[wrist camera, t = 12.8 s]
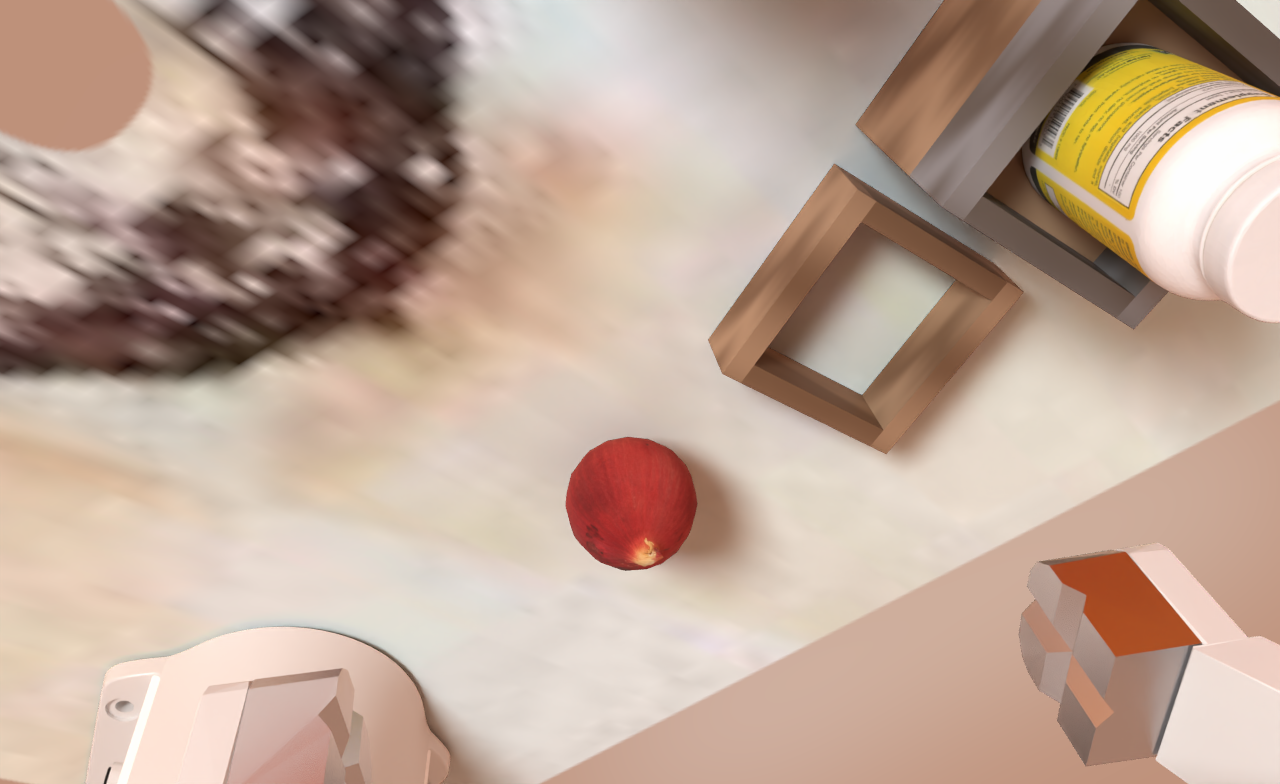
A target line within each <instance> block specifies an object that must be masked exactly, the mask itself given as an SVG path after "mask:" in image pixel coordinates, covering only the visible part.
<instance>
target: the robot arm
mask: <svg viewBox="0 0 1280 784" xmlns="http://www.w3.org/2000/svg"><path fill="white" fill-rule="evenodd" d="M1027 587H1028V589H1029V590H1030V591H1031V593H1032V594H1033V596H1034V598H1035V600H1034V601H1033V602H1032V603H1031V604H1030V605H1029V606H1028V608H1027V609H1026V610H1025V611H1024V612H1023V613H1022V616H1021V623H1020V629H1019V638H1020V646H1021V652H1022V657H1023V660H1024V662H1025V665H1026V668H1027V670H1028V673H1029V674H1030V676H1031V678H1032V680H1033V681H1034V683H1035V684H1036V686H1037V688H1038V690H1039V691H1041V692H1043V693H1044V694H1046V695H1047V696H1049V697H1051V698H1053V699H1054V700H1056V701H1058V702H1059V703H1060V708H1059V714H1058V719H1057V721H1058V722H1059V724H1060V725H1061V727H1062V729H1063V730H1064V732H1065V734H1066V735H1067V737H1068V738H1069V740H1070V741H1071V743H1072V745H1073V747H1074V748H1075V750H1076V751H1077V753H1078V754H1079V756H1080V758H1081V759H1082V761H1083V763H1084V764H1085V766H1092V765H1099V764H1106V763H1113V762H1120V761H1127V760H1134V759H1141V758H1148V757H1156V756H1157V757H1156V761H1158V762H1159V763H1161V764H1162V765H1163V766H1165V767H1166V768H1167V769H1169V770H1170V771H1172V772H1173V773H1174V774H1176V775H1177V776H1178V777H1180V778H1181V779H1183V780H1184V781H1186V782H1187V783H1188V784H1280V645H1279V644H1276V643H1274V642H1272V641H1270V640H1268V639H1266V638H1264V637H1262V636H1257V637H1249V638H1248V636H1247V635H1246V634H1245V633H1244V632H1243V631H1242V630H1241V629H1240V628H1239V626H1238V625H1237V624H1236V623H1235V622H1234V621H1233V620H1232V619H1231V618H1230V616H1229V615H1228V614H1227V613H1226V612H1225V611H1224V610H1223V609H1222V608H1221V606H1219V604H1218V603H1217V602H1216V601H1215V600H1214V599H1213V598H1212V596H1211V595H1210V594H1209V593H1208V592H1207V591H1206V590H1205V589H1204V587H1203V586H1202V585H1201V584H1200V583H1199V582H1198V581H1197V580H1196V579H1195V577H1194V576H1193V575H1192V574H1191V573H1190V572H1189V571H1188V570H1187V569H1186V567H1185V566H1184V565H1183V564H1182V563H1181V562H1180V561H1179V560H1178V559H1177V557H1176V556H1175V555H1174V554H1173V553H1172V552H1171V551H1170V550H1169V549H1168V548H1167V547H1165V546H1163V545H1161V544H1159V543H1150V544H1144V545H1139V546H1132V547H1126V548H1120V549H1116V550H1107V551H1101V552H1095V553H1088V554H1082V555H1076V556H1070V557H1064V558H1058V559H1052V560H1046V561H1039V562H1037V563H1036V564H1035V565H1034V567H1033V568H1032V569H1031V571H1030V575H1029V580H1028V584H1027ZM450 758H451V757H450V754H449V752H448V750H447V748H446V747H445V746H444V745H443V743H442V742H441V741H440V740H439V739H438V738H437V737H436V736H435V735H434V734H433V733H432V732H431V731H430V729H429V727H428V725H427V721H426V717H425V712H424V707H423V703H422V699H421V697H420V694H419V692H418V690H417V688H416V686H415V685H414V683H413V682H412V680H411V679H410V677H409V676H408V675H407V674H406V673H405V672H404V671H403V670H402V669H401V668H400V667H399V666H398V665H397V664H396V663H395V662H394V661H392V660H391V659H390V658H388V657H387V656H386V655H384V654H382V653H381V652H379V651H378V650H376V649H374V648H372V647H370V646H368V645H366V644H364V643H362V642H359V641H357V640H354V639H352V638H349V637H346V636H342V635H339V634H335V633H331V632H327V631H322V630H316V629H309V628H299V627H265V628H255V629H248V630H243V631H238V632H233V633H229V634H225V635H222V636H219V637H216V638H213V639H210V640H208V641H205V642H203V643H201V644H199V645H196V646H194V647H192V648H190V649H188V650H185V651H183V652H180V653H178V654H175V655H171V656H168V657H158V658H148V659H140V660H133V661H128V662H123V663H120V664H117V665H115V666H113V667H111V668H110V669H109V670H108V671H107V673H106V675H105V678H104V682H103V687H102V691H101V696H100V702H99V708H98V713H97V719H96V725H95V731H94V736H93V742H92V748H91V754H90V759H89V765H88V771H87V777H86V782H85V784H440V783H441V782H442V781H444V779H445V778H446V777H447V775H448V773H449V766H450Z"/></svg>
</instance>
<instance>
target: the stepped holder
mask: <svg viewBox="0 0 1280 784" xmlns="http://www.w3.org/2000/svg"><path fill="white" fill-rule="evenodd" d="M1116 43H1141V44H1146V45H1150V46H1153V47H1156V48H1159V49H1162V50H1165V51H1167V52H1170V53H1173V54H1175V55H1177V56H1179V57H1182V58H1184V59H1187V60H1189V61H1192V62H1194V63H1197V64H1199V65H1202V66H1204V67H1207V68H1209V69H1212V70H1214V71H1217V72H1219V73H1222V74H1224V75H1227V76H1229V77H1232V78H1234V79H1237V80H1239V81H1241V82H1244V83H1246V84H1248V85H1251V86H1253V87H1256V88H1258V89H1261V90H1263V91H1266V92H1268V93H1271V94H1273V95H1276V96H1278V97H1280V39H1279V38H1278V37H1277V36H1276V35H1274V34H1273V33H1272V32H1271V31H1270V30H1269V29H1268V28H1266V27H1265V26H1264V25H1263V24H1262V23H1261V22H1260V21H1259V20H1257V19H1256V18H1255V17H1254V16H1253V15H1252V14H1251V13H1250V12H1248V11H1247V10H1246V9H1245V8H1244V7H1243V6H1242V5H1240V4H1239V3H1238V2H1237V1H1236V0H944V1H943V3H942V4H941V6H940V7H939V8H938V10H937V11H936V13H935V14H934V15H933V17H932V18H931V20H930V21H929V22H928V24H927V25H926V27H925V28H924V29H923V31H922V32H921V34H920V35H919V36H918V38H917V39H916V41H915V42H914V43H913V45H912V46H911V48H910V49H909V50H908V52H907V53H906V55H905V56H904V57H903V59H902V60H901V62H900V63H899V64H898V66H897V67H896V69H895V70H894V71H893V73H892V74H891V76H890V77H889V78H888V80H887V81H886V83H885V84H884V86H883V87H882V88H881V90H880V91H879V93H878V94H877V95H876V97H875V98H874V100H873V101H872V102H871V104H870V105H869V107H868V108H867V109H866V111H865V112H864V114H863V115H862V116H861V118H860V119H859V121H858V122H857V123H856V126H857V127H858V128H859V129H860V130H861V131H862V132H863V133H864V134H865V135H866V136H868V137H869V138H870V139H871V140H872V141H873V142H874V143H875V144H876V145H877V146H878V147H879V148H880V149H881V150H882V151H883V152H884V153H885V154H886V155H887V156H889V157H890V158H891V159H892V160H893V161H894V162H895V163H896V164H897V165H898V166H899V167H900V168H901V169H902V170H903V171H904V172H905V173H906V174H907V175H908V176H910V177H911V178H912V179H913V180H914V181H915V182H916V183H917V184H918V185H919V186H920V187H921V188H922V189H923V190H924V191H925V192H926V193H927V194H928V195H930V196H931V197H932V198H933V199H934V200H935V201H936V202H937V203H938V204H939V205H940V206H941V207H942V208H944V209H945V210H947V211H949V212H950V213H952V214H953V215H955V216H956V217H958V218H960V219H961V220H963V221H964V222H966V223H967V224H969V225H971V226H972V227H974V228H975V229H977V230H978V231H980V232H982V233H983V234H985V235H986V236H988V237H989V238H991V239H993V240H994V241H996V242H997V243H999V244H1000V245H1002V246H1004V247H1005V248H1007V249H1008V250H1010V251H1011V252H1013V253H1015V254H1016V255H1018V256H1019V257H1021V258H1022V259H1024V260H1026V261H1027V262H1029V263H1030V264H1032V265H1033V266H1035V267H1037V268H1038V269H1040V270H1041V271H1043V272H1044V273H1046V274H1048V275H1049V276H1051V277H1052V278H1054V279H1055V280H1057V281H1059V282H1060V283H1062V284H1063V285H1065V286H1066V287H1068V288H1070V289H1071V290H1073V291H1074V292H1076V293H1077V294H1079V295H1081V296H1082V297H1084V298H1085V299H1087V300H1088V301H1090V302H1092V303H1093V304H1095V305H1096V306H1098V307H1099V308H1101V309H1103V310H1104V311H1106V312H1107V313H1109V314H1110V315H1112V316H1114V317H1115V318H1117V319H1118V320H1120V321H1121V322H1123V323H1125V324H1126V325H1128V326H1129V327H1131V328H1132V329H1135V327H1136V326H1137V325H1138V324H1139V323H1140V322H1141V321H1142V320H1143V319H1144V318H1145V317H1146V315H1147V314H1148V313H1149V312H1150V311H1151V310H1152V309H1153V308H1154V307H1155V306H1156V305H1157V303H1158V302H1159V301H1160V300H1161V299H1162V298H1163V297H1164V296H1165V295H1166V294H1167V293H1168V292H1169V291H1167V290H1166V289H1164V288H1162V287H1160V286H1159V285H1157V284H1156V283H1154V282H1153V281H1151V280H1150V279H1149V278H1148V277H1146V276H1145V275H1144V274H1142V273H1141V272H1140V271H1138V270H1137V269H1136V268H1134V267H1133V266H1132V265H1131V264H1129V263H1128V262H1127V261H1125V260H1124V259H1123V258H1121V257H1120V256H1118V255H1117V254H1116V253H1115V252H1113V251H1112V250H1111V249H1109V248H1108V247H1107V246H1105V245H1104V244H1103V243H1101V242H1100V241H1098V240H1097V239H1096V238H1094V237H1093V236H1092V235H1091V234H1089V233H1088V232H1086V231H1085V230H1084V229H1083V228H1081V227H1080V226H1078V225H1077V224H1076V223H1075V222H1073V221H1072V220H1070V219H1069V218H1068V217H1066V216H1065V215H1064V214H1062V213H1061V212H1060V211H1058V210H1057V209H1056V208H1054V207H1053V206H1052V205H1050V204H1049V203H1048V202H1047V201H1046V200H1045V199H1043V198H1042V197H1041V196H1040V195H1039V194H1038V193H1037V191H1036V190H1035V189H1034V188H1033V186H1032V185H1031V183H1030V181H1029V179H1028V177H1027V174H1026V172H1025V168H1024V164H1023V157H1022V146H1023V144H1024V143H1025V142H1026V141H1027V139H1028V138H1029V137H1030V136H1031V134H1032V133H1033V132H1034V130H1035V129H1036V128H1037V127H1038V125H1039V124H1040V123H1041V122H1042V120H1043V119H1044V118H1045V117H1046V115H1047V114H1048V113H1049V112H1050V110H1051V109H1052V108H1053V107H1054V105H1055V104H1056V103H1057V102H1058V100H1059V99H1060V98H1061V96H1062V95H1063V94H1064V93H1065V91H1066V90H1067V89H1068V88H1069V86H1070V85H1071V84H1072V83H1073V81H1074V80H1075V79H1076V78H1077V76H1078V75H1079V74H1080V73H1081V71H1082V70H1083V69H1084V68H1085V66H1086V65H1087V64H1088V62H1089V61H1090V60H1091V59H1092V57H1093V56H1094V55H1095V54H1096V52H1097V51H1098V50H1099V49H1100V47H1103V46H1106V45H1111V44H1116ZM861 222H862V223H864V224H865V225H867V226H869V227H870V228H872V229H874V230H875V231H877V232H879V233H880V234H882V235H884V236H885V237H887V238H889V239H890V240H892V241H894V242H895V243H897V244H899V245H900V246H902V247H904V248H905V249H907V250H909V251H910V252H912V253H913V254H915V255H917V256H918V257H920V258H922V259H923V260H925V261H927V262H928V263H930V264H932V265H933V266H935V267H937V268H938V269H940V270H942V271H943V272H945V273H947V274H948V275H950V276H952V277H953V278H955V279H956V281H955V282H954V283H953V284H952V286H951V287H950V288H949V289H948V290H947V292H946V293H945V294H944V295H943V297H942V298H941V299H940V300H939V302H938V303H937V304H936V305H935V306H934V308H933V309H932V310H931V311H930V313H929V314H928V315H927V316H926V318H925V319H924V320H923V321H922V322H921V324H920V325H919V326H918V327H917V329H916V330H915V331H914V332H913V334H912V335H911V336H910V337H909V338H908V340H907V341H906V342H905V343H904V345H903V346H902V347H901V348H900V350H899V351H898V352H897V353H896V354H895V356H894V357H893V358H892V359H891V361H890V362H889V363H888V364H887V366H886V367H885V368H884V369H883V370H882V372H881V373H880V374H879V375H878V377H877V378H876V379H875V380H874V382H873V383H872V384H871V385H870V386H869V388H868V389H867V390H866V391H865V393H864V394H863V395H860V394H858V393H856V392H854V391H852V390H850V389H848V388H847V387H845V386H843V385H841V384H839V383H837V382H835V381H833V380H831V379H829V378H827V377H825V376H823V375H821V374H819V373H817V372H815V371H813V370H812V369H810V368H808V367H806V366H804V365H802V364H800V363H798V362H796V361H794V360H792V359H790V358H788V357H786V356H784V355H782V354H780V353H778V352H777V351H775V350H773V349H771V348H769V347H768V346H769V345H770V343H771V342H772V341H773V339H774V338H775V337H776V335H777V334H778V333H779V331H780V330H781V328H782V327H783V326H784V324H785V323H786V322H787V320H788V319H789V318H790V316H791V315H792V314H793V312H794V311H795V310H796V308H797V307H798V306H799V304H800V303H801V302H802V300H803V299H804V298H805V296H806V295H807V294H808V292H809V291H810V290H811V288H812V287H813V286H814V284H815V283H816V282H817V280H818V279H819V278H820V276H821V275H822V274H823V272H824V271H825V270H826V268H827V267H828V266H829V264H830V263H831V262H832V260H833V259H834V258H835V256H836V255H837V254H838V252H839V251H840V250H841V248H842V247H843V246H844V244H845V243H846V242H847V240H848V239H849V238H850V236H851V235H852V233H853V232H854V231H855V229H856V228H857V227H858V225H859V224H860V223H861ZM1023 293H1024V292H1023V291H1022V290H1021V289H1020V288H1019V287H1018V286H1017V285H1016V284H1015V283H1014V282H1013V281H1012V280H1011V279H1009V278H1008V277H1007V276H1006V275H1005V274H1004V273H1003V272H1002V271H1001V270H1000V269H999V268H998V267H997V266H996V265H995V264H994V263H993V262H991V261H989V260H988V259H986V258H985V257H983V256H981V255H980V254H978V253H977V252H975V251H973V250H972V249H970V248H969V247H967V246H965V245H964V244H962V243H961V242H959V241H957V240H956V239H954V238H953V237H951V236H949V235H948V234H946V233H945V232H943V231H941V230H940V229H938V228H937V227H935V226H933V225H932V224H930V223H929V222H927V221H925V220H924V219H922V218H921V217H919V216H917V215H916V214H914V213H913V212H911V211H909V210H908V209H906V208H904V207H903V206H901V205H900V204H898V203H896V202H895V201H893V200H892V199H890V198H888V197H887V196H885V195H884V194H882V193H880V192H879V191H877V190H876V189H874V188H872V187H871V186H869V185H868V184H866V183H864V182H863V181H861V180H860V179H858V178H856V177H855V176H853V175H852V174H850V173H848V172H847V171H845V170H844V169H842V168H840V167H839V166H837V165H836V164H834V165H833V166H832V168H831V169H830V170H829V172H828V173H827V175H826V176H825V177H824V179H823V180H822V182H821V183H820V184H819V186H818V187H817V189H816V190H815V191H814V193H813V194H812V196H811V197H810V198H809V200H808V201H807V203H806V204H805V205H804V207H803V208H802V210H801V211H800V212H799V214H798V215H797V217H796V218H795V219H794V221H793V222H792V224H791V225H790V226H789V228H788V229H787V231H786V232H785V233H784V235H783V236H782V238H781V239H780V240H779V242H778V243H777V245H776V246H775V247H774V249H773V250H772V251H771V253H770V254H769V256H768V257H767V258H766V260H765V261H764V263H763V264H762V265H761V267H760V268H759V270H758V271H757V272H756V274H755V275H754V277H753V278H752V279H751V281H750V282H749V284H748V285H747V286H746V288H745V289H744V291H743V292H742V293H741V295H740V296H739V298H738V299H737V300H736V302H735V303H734V305H733V306H732V307H731V309H730V310H729V312H728V313H727V314H726V316H725V317H724V319H723V320H722V321H721V323H720V324H719V326H718V327H717V328H716V330H715V331H714V333H713V334H712V335H711V337H710V338H709V339H708V341H709V343H710V345H711V348H712V350H713V353H714V355H715V357H716V360H717V362H718V365H719V367H720V369H721V372H722V374H724V375H726V376H728V377H730V378H732V379H734V380H736V381H738V382H740V383H742V384H744V385H746V386H748V387H750V388H752V389H754V390H756V391H758V392H761V393H763V394H765V395H767V396H769V397H771V398H773V399H775V400H777V401H779V402H781V403H783V404H785V405H787V406H789V407H791V408H793V409H795V410H797V411H799V412H801V413H803V414H805V415H807V416H809V417H811V418H814V419H816V420H818V421H820V422H822V423H824V424H826V425H828V426H830V427H832V428H834V429H836V430H838V431H840V432H842V433H844V434H846V435H848V436H850V437H852V438H854V439H856V440H858V441H860V442H862V443H865V444H867V445H869V446H871V447H873V448H875V449H877V450H879V451H881V452H883V453H885V454H887V453H888V451H889V450H890V449H891V448H892V447H893V446H894V444H895V443H896V442H897V441H898V440H899V439H900V437H901V436H902V435H903V434H904V433H905V431H906V430H907V429H908V428H909V427H910V426H911V424H912V423H913V422H914V421H915V420H916V419H917V417H918V416H919V415H920V414H921V413H922V411H923V410H924V409H925V408H926V407H927V406H928V404H929V403H930V402H931V401H932V400H933V399H934V397H935V396H936V395H937V394H938V393H939V391H940V390H941V389H942V388H943V387H944V386H945V384H946V383H947V382H948V381H949V380H950V379H951V377H952V376H953V375H954V374H955V373H956V371H957V370H958V369H959V368H960V367H961V366H962V364H963V363H964V362H965V361H966V360H967V359H968V357H969V356H970V355H971V354H972V353H973V351H974V350H975V349H976V348H977V347H978V346H979V344H980V343H981V342H982V341H983V340H984V339H985V337H986V336H987V335H988V334H989V333H990V331H991V330H992V329H993V328H994V327H995V326H996V324H997V323H998V322H999V321H1000V320H1001V319H1002V317H1003V316H1004V315H1005V314H1006V313H1007V311H1008V310H1009V309H1010V308H1011V307H1012V306H1013V304H1014V303H1015V302H1016V301H1017V300H1018V298H1019V297H1020V296H1021V295H1022V294H1023Z"/></svg>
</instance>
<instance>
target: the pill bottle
mask: <svg viewBox="0 0 1280 784" xmlns="http://www.w3.org/2000/svg"><path fill="white" fill-rule="evenodd" d="M1022 157H1023V164H1024V168H1025V172H1026V174H1027V177H1028V179H1029V181H1030V183H1031V185H1032V186H1033V188H1034V189H1035V190H1036V191H1037V193H1038V194H1039V195H1040V196H1041V197H1042V198H1043V199H1045V200H1046V201H1047V202H1048V203H1049V204H1050V205H1052V206H1053V207H1054V208H1056V209H1057V210H1058V211H1060V212H1061V213H1062V214H1064V215H1065V216H1066V217H1068V218H1069V219H1070V220H1072V221H1073V222H1075V223H1076V224H1077V225H1078V226H1080V227H1081V228H1083V229H1084V230H1085V231H1086V232H1088V233H1089V234H1091V235H1092V236H1093V237H1094V238H1096V239H1097V240H1098V241H1100V242H1101V243H1103V244H1104V245H1105V246H1107V247H1108V248H1109V249H1111V250H1112V251H1113V252H1115V253H1116V254H1117V255H1118V256H1120V257H1121V258H1123V259H1124V260H1125V261H1127V262H1128V263H1129V264H1131V265H1132V266H1133V267H1134V268H1136V269H1137V270H1138V271H1140V272H1141V273H1142V274H1144V275H1145V276H1146V277H1148V278H1149V279H1150V280H1151V281H1153V282H1154V283H1156V284H1157V285H1159V286H1160V287H1162V288H1164V289H1166V290H1167V291H1169V292H1171V293H1173V294H1176V295H1179V296H1182V297H1185V298H1190V299H1195V300H1223V301H1224V302H1226V303H1228V304H1229V305H1231V306H1232V307H1234V308H1235V309H1237V310H1238V311H1240V312H1242V313H1243V314H1245V315H1246V316H1248V317H1250V318H1253V319H1255V320H1258V321H1262V322H1269V323H1280V97H1278V96H1276V95H1273V94H1271V93H1268V92H1266V91H1263V90H1261V89H1258V88H1256V87H1253V86H1251V85H1248V84H1246V83H1244V82H1241V81H1239V80H1237V79H1234V78H1232V77H1229V76H1227V75H1224V74H1222V73H1219V72H1217V71H1214V70H1212V69H1209V68H1207V67H1204V66H1202V65H1199V64H1197V63H1194V62H1192V61H1189V60H1187V59H1184V58H1182V57H1179V56H1177V55H1175V54H1173V53H1170V52H1167V51H1165V50H1162V49H1159V48H1156V47H1153V46H1150V45H1146V44H1141V43H1116V44H1111V45H1106V46H1103V47H1100V49H1099V50H1098V51H1097V52H1096V54H1095V55H1094V56H1093V57H1092V59H1091V60H1090V61H1089V62H1088V64H1087V65H1086V66H1085V68H1084V69H1083V70H1082V71H1081V73H1080V74H1079V75H1078V76H1077V78H1076V79H1075V80H1074V81H1073V83H1072V84H1071V85H1070V86H1069V88H1068V89H1067V90H1066V91H1065V93H1064V94H1063V95H1062V96H1061V98H1060V99H1059V100H1058V102H1057V103H1056V104H1055V105H1054V107H1053V108H1052V109H1051V110H1050V112H1049V113H1048V114H1047V115H1046V117H1045V118H1044V119H1043V120H1042V122H1041V123H1040V124H1039V125H1038V127H1037V128H1036V129H1035V130H1034V132H1033V133H1032V134H1031V136H1030V137H1029V138H1028V139H1027V141H1026V142H1025V143H1024V144H1023V146H1022Z"/></svg>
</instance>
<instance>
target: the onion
mask: <svg viewBox="0 0 1280 784" xmlns="http://www.w3.org/2000/svg"><path fill="white" fill-rule="evenodd" d="M696 508H697V498H696V492H695V488H694V485H693V481H692V477H691V474H690V472H689V470H688V468H687V466H686V465H685V464H684V463H683V462H682V460H681V459H680V458H679V457H678V456H677V455H676V454H675V453H674V452H673V451H672V450H670V449H668V448H667V447H665V446H663V445H660V444H658V443H656V442H653V441H651V440H649V439H642V438H632V437H625V438H620V439H614V440H609V441H606V442H604V443H603V444H601V445H599V446H597V447H596V448H594V449H592V450H590V451H589V452H588V453H587V454H586V455H585V456H584V458H583V459H582V460H581V462H580V463H579V464H578V466H577V467H576V469H575V470H574V471H573V473H572V474H571V478H570V482H569V486H568V490H567V496H566V509H567V513H568V517H569V521H570V525H571V528H572V531H573V534H574V536H575V538H576V539H577V540H578V541H579V543H580V544H581V545H582V546H583V547H584V548H585V549H586V550H587V551H588V552H589V553H590V554H591V555H592V556H593V557H594V558H595V559H596V560H598V561H599V562H601V563H604V564H606V565H609V566H612V567H615V568H618V569H621V570H625V571H627V570H641V569H648V568H651V567H654V566H656V565H659V564H662V563H663V562H664V561H666V560H667V559H668V558H670V557H671V556H672V555H674V554H675V553H676V552H677V551H678V550H679V548H680V547H681V545H682V544H683V542H684V541H685V540H686V538H687V537H688V535H689V533H690V530H691V527H692V524H693V520H694V516H695V512H696Z"/></svg>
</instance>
